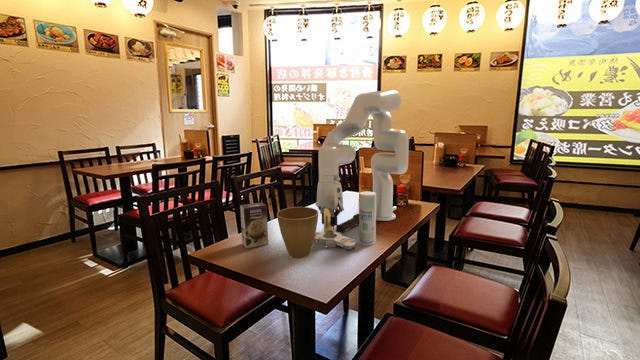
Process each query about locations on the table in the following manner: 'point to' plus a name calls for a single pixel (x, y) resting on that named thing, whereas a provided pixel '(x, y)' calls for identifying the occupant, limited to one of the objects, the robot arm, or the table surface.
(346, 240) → the two-arm fidget spinner
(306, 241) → the plant pot
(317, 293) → the table surface
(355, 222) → the brown wooden stick
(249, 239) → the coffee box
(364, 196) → the spray can
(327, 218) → the brass pin
